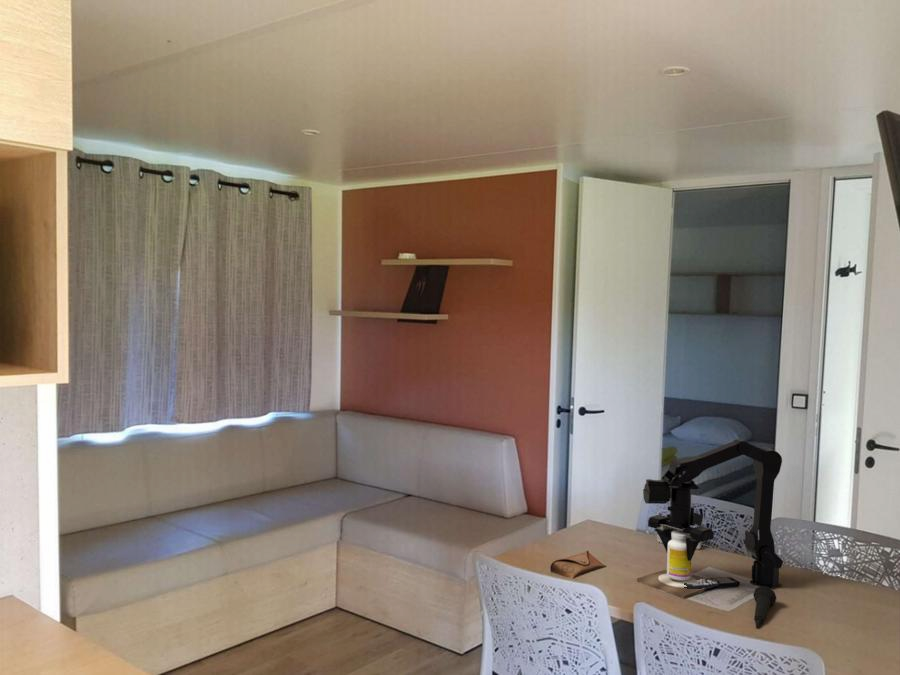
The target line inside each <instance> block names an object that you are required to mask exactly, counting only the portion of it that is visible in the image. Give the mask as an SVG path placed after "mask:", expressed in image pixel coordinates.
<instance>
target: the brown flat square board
mask: <svg viewBox="0 0 900 675" xmlns="http://www.w3.org/2000/svg"><path fill="white" fill-rule="evenodd" d="M700 579H707V578H706V577H702V576H700V575H697V574H695V573H694V574H693V573H691V577H690V578H689V579H688V580H675V579H672V578H670V577H669V576H668V575H667V568H666V569H663V570H660V571H655V572H653V573H650V574H646V575H643V576H640V577H637V578H636V581H637V582H639V583H641V584H644V585H647V586H650V587H651V588H654V589H658V590H659V591H662V592H666V593H668V594H671V595H673V596H676V597H678V598H681V599H687V598H690V597H693V596H695V595H698V594H700V593H699V592H700V591H703V590H704V589H705V588H702V589H687V588H684V587H687V586H686V585H684V583H687V584H689V583H694V582H697V580H700ZM697 593H698V594H697ZM694 594H695V595H694ZM692 595H693V596H692Z"/></svg>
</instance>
